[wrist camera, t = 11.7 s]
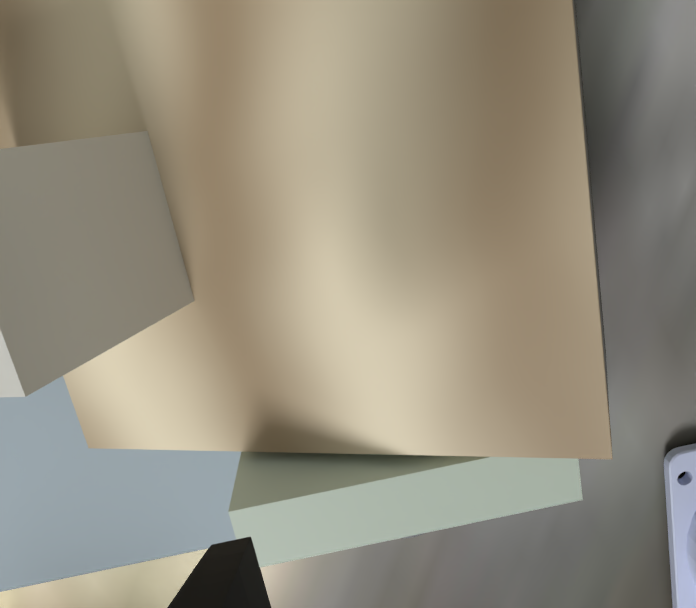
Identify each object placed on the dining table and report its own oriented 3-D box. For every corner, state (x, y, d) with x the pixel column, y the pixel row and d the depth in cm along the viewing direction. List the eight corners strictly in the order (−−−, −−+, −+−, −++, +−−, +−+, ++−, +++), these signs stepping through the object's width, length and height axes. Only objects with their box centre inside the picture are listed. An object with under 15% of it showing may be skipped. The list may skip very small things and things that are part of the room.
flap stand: (423, -184, 16) (490, -372, 10) (505, 408, 20) (584, 517, 14) (114, -121, 16) (-1, -273, 10) (267, 457, 20) (250, 588, 14)
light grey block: (194, 301, 15) (25, 396, 10) (70, 312, 16) (-122, 399, 12) (147, 130, 14) (-65, 156, 9) (20, 160, 15) (-214, 194, 11)
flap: (561, -155, 13) (550, -251, 9) (607, 369, 16) (612, 459, 12) (67, 18, 18) (-69, 3, 15) (176, 382, 22) (88, 448, 18)
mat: (270, 527, 21) (270, 535, 20) (-33, 591, 21) (-40, 600, 20) (62, -239, 15) (55, -249, 14) (-365, -152, 15) (-383, -160, 14)
